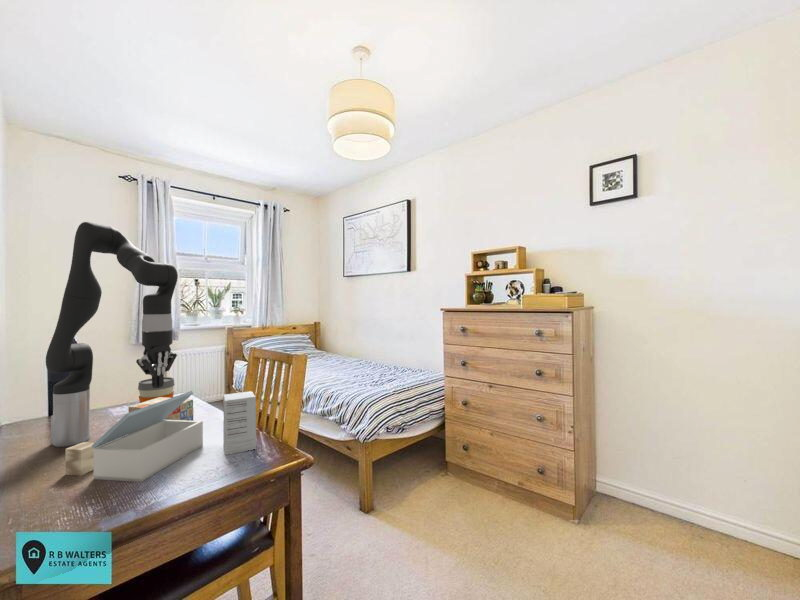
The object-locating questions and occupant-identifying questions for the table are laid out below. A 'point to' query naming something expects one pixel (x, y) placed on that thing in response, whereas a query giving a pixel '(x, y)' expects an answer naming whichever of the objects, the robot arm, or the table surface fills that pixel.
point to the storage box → (147, 450)
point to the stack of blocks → (178, 414)
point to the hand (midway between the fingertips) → (157, 387)
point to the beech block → (80, 459)
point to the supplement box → (239, 422)
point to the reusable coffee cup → (155, 389)
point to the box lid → (142, 418)
